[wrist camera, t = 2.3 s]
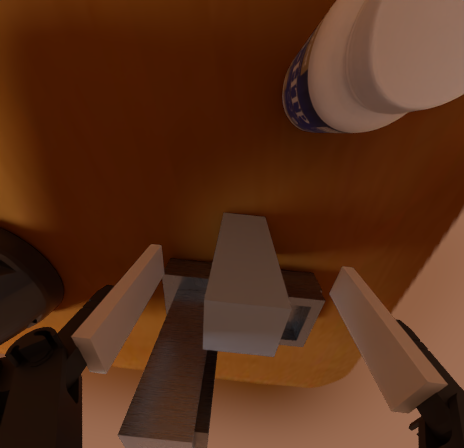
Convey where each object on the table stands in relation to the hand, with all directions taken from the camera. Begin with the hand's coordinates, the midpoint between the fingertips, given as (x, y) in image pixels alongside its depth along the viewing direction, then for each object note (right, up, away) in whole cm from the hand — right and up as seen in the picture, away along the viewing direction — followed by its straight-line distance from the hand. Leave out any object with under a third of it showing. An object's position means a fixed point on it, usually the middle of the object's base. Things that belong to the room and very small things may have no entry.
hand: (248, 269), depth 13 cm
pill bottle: (+5, +13, -1) cm, 14 cm away
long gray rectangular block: (0, +3, +5) cm, 5 cm away
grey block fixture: (0, -5, +8) cm, 10 cm away
